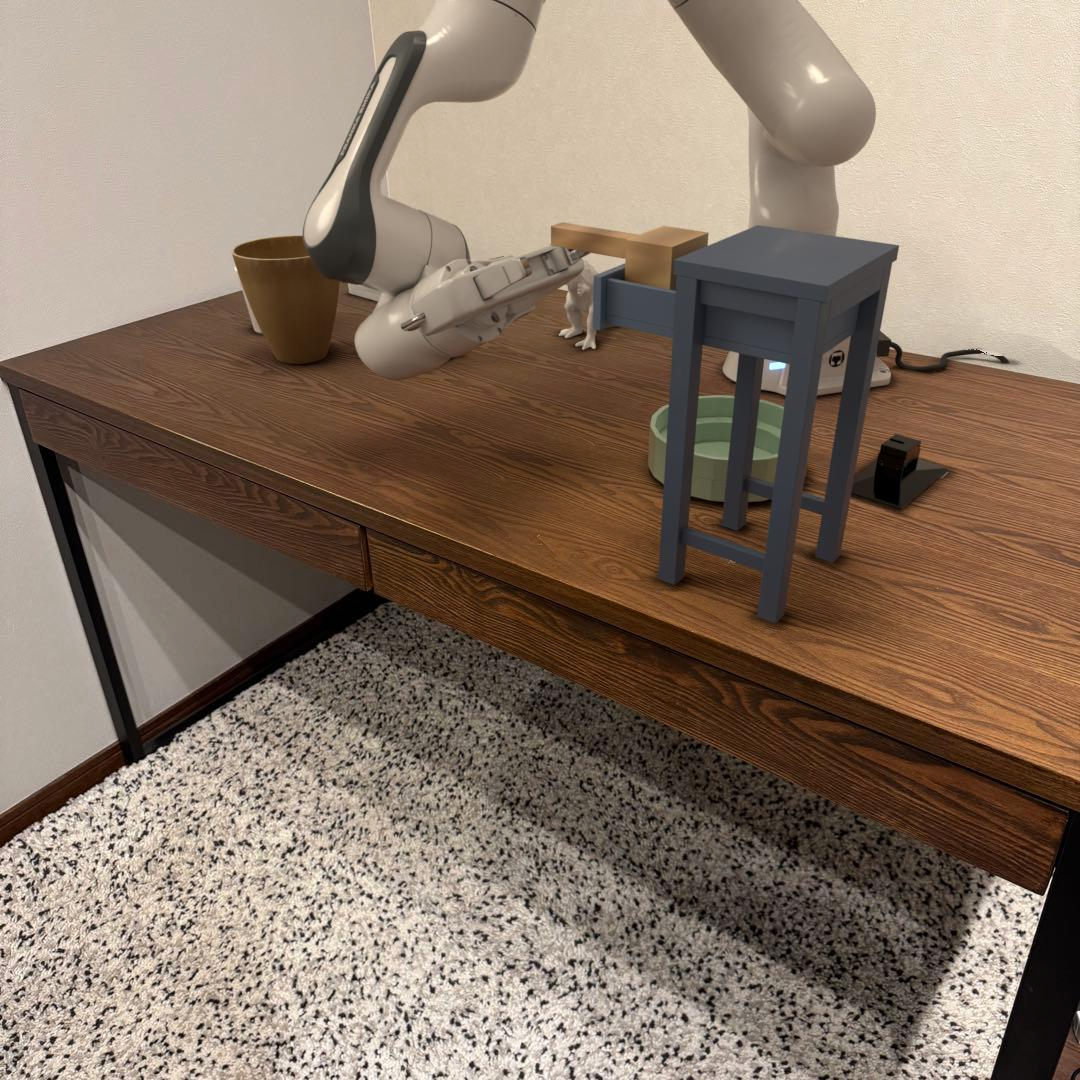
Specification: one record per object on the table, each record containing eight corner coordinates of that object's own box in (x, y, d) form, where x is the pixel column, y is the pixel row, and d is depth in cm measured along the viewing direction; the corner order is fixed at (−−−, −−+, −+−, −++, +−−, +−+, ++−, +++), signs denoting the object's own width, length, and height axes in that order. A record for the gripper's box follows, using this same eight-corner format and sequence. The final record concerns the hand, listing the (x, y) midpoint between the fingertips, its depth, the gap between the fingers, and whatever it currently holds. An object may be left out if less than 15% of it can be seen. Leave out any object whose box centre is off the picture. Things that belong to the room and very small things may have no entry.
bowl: (773, 433, 114) (778, 391, 111) (828, 501, 100) (836, 454, 97) (633, 443, 112) (635, 400, 110) (669, 513, 98) (672, 465, 95)
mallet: (537, 291, 87) (536, 224, 84) (575, 276, 91) (575, 212, 88) (668, 319, 80) (672, 246, 76) (703, 301, 84) (708, 232, 80)
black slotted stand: (887, 453, 109) (895, 416, 107) (950, 472, 105) (959, 434, 103) (837, 490, 102) (844, 451, 99) (902, 512, 97) (911, 471, 95)
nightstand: (573, 547, 92) (575, 242, 77) (649, 492, 102) (664, 211, 87) (778, 625, 81) (828, 285, 66) (843, 556, 90) (899, 245, 75)
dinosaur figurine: (570, 359, 137) (570, 256, 130) (524, 343, 143) (522, 244, 136) (659, 327, 149) (664, 231, 141) (613, 314, 155) (616, 221, 147)
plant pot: (363, 364, 136) (350, 252, 128) (257, 380, 132) (237, 264, 123) (342, 334, 148) (329, 229, 140) (245, 347, 143) (225, 239, 135)
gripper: (377, 301, 90) (467, 245, 80) (512, 255, 104) (604, 202, 94) (406, 363, 91) (499, 315, 81) (536, 309, 105) (629, 262, 95)
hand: (556, 254), depth 88 cm, fingers open, 8 cm apart
